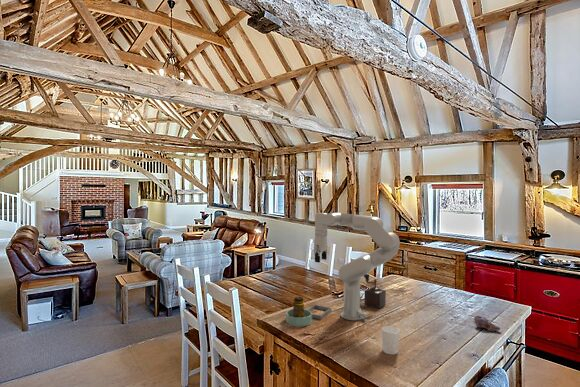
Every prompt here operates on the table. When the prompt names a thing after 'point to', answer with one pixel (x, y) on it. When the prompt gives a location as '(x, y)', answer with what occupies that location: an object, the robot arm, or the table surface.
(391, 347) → the white cup
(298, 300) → the condiment
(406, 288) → the table surface
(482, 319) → the grey-brown irregular lump
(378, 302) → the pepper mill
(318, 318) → the tray
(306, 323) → the bowl
